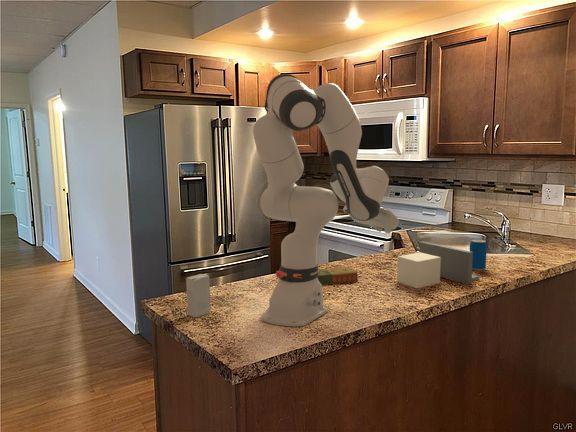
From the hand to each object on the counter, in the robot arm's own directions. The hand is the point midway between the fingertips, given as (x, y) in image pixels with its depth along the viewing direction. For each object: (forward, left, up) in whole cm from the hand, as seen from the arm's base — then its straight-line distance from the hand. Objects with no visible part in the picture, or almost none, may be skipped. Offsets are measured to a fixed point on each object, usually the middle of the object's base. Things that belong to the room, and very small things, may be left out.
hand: (384, 231), depth 163 cm
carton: (+6, +20, -22) cm, 31 cm away
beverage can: (+43, -30, -22) cm, 56 cm away
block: (+14, -10, -22) cm, 28 cm away
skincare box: (-45, +47, -22) cm, 69 cm away
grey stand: (+29, -20, -21) cm, 41 cm away
